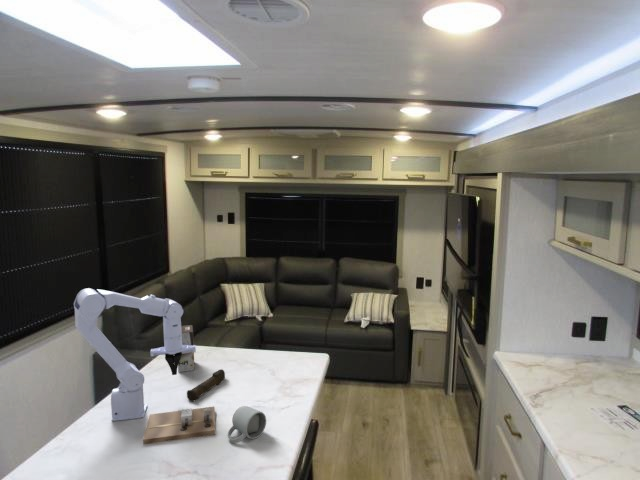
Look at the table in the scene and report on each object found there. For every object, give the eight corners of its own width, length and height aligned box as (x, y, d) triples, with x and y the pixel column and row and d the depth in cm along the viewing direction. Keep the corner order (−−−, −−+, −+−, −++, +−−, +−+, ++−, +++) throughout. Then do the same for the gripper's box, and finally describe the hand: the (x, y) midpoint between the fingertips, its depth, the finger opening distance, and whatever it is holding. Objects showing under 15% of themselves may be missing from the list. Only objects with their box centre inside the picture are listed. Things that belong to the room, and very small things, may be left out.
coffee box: (194, 370, 172) (193, 331, 170) (178, 372, 170) (176, 333, 168) (194, 361, 181) (192, 324, 179) (178, 363, 179) (176, 326, 177)
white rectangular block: (181, 427, 129) (180, 418, 128) (182, 418, 133) (182, 409, 133) (191, 426, 129) (191, 416, 129) (192, 417, 134) (192, 408, 134)
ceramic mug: (249, 422, 135) (248, 399, 134) (267, 432, 130) (266, 408, 128) (221, 437, 127) (220, 413, 126) (239, 449, 122) (238, 423, 121)
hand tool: (195, 403, 147) (194, 390, 146) (186, 400, 149) (185, 387, 148) (230, 380, 164) (230, 369, 163) (222, 378, 166) (221, 367, 165)
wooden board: (143, 444, 123) (142, 428, 123) (149, 418, 137) (149, 404, 136) (214, 434, 128) (214, 419, 128) (214, 410, 142) (214, 396, 141)
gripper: (148, 341, 140) (150, 381, 142) (194, 337, 144) (196, 376, 146) (151, 334, 147) (153, 372, 149) (195, 330, 151) (196, 367, 153)
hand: (174, 373), depth 148 cm, fingers closed
